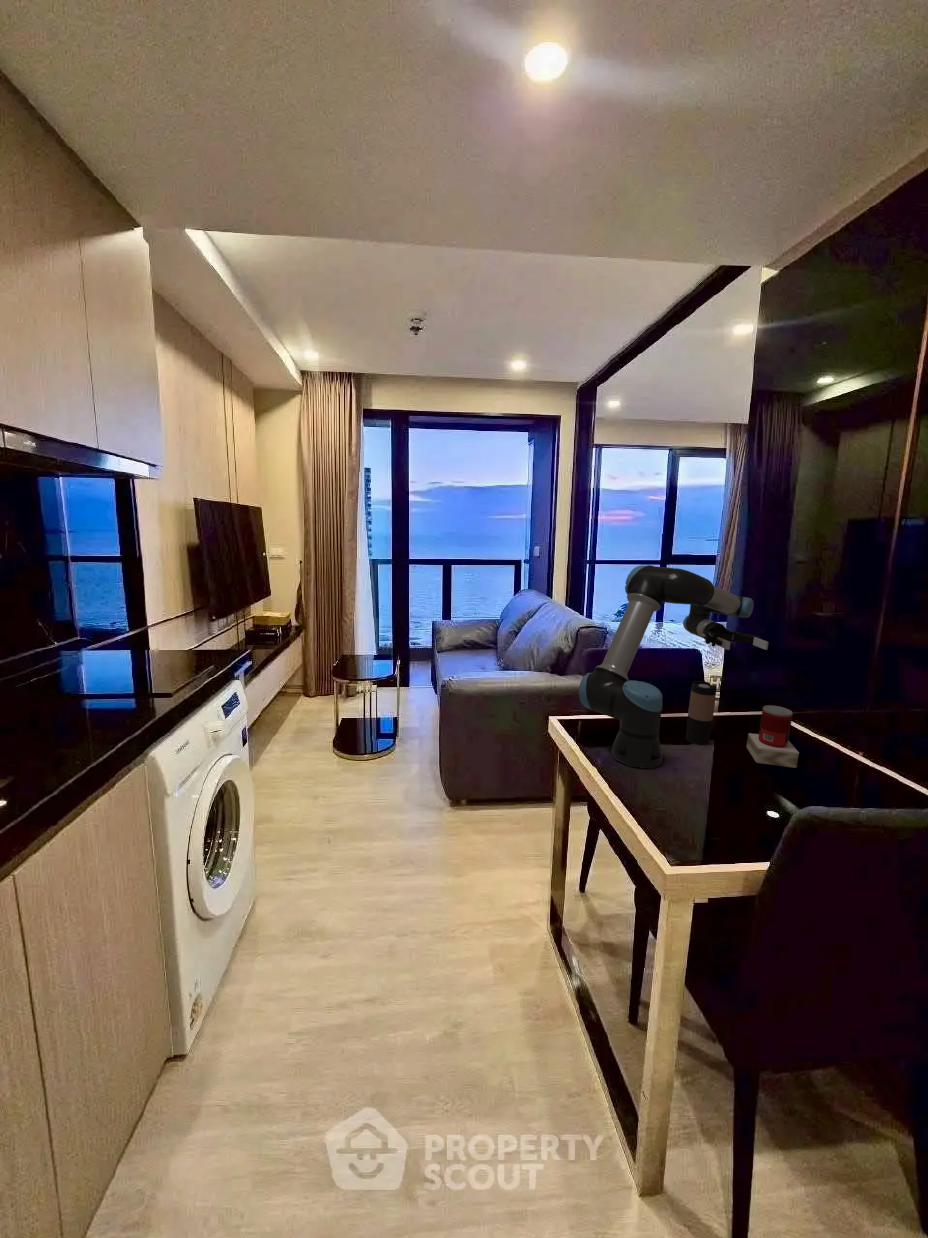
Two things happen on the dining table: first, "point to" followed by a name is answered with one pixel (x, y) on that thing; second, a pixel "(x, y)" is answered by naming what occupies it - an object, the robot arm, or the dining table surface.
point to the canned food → (775, 726)
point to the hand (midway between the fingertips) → (748, 645)
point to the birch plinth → (772, 753)
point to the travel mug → (700, 712)
